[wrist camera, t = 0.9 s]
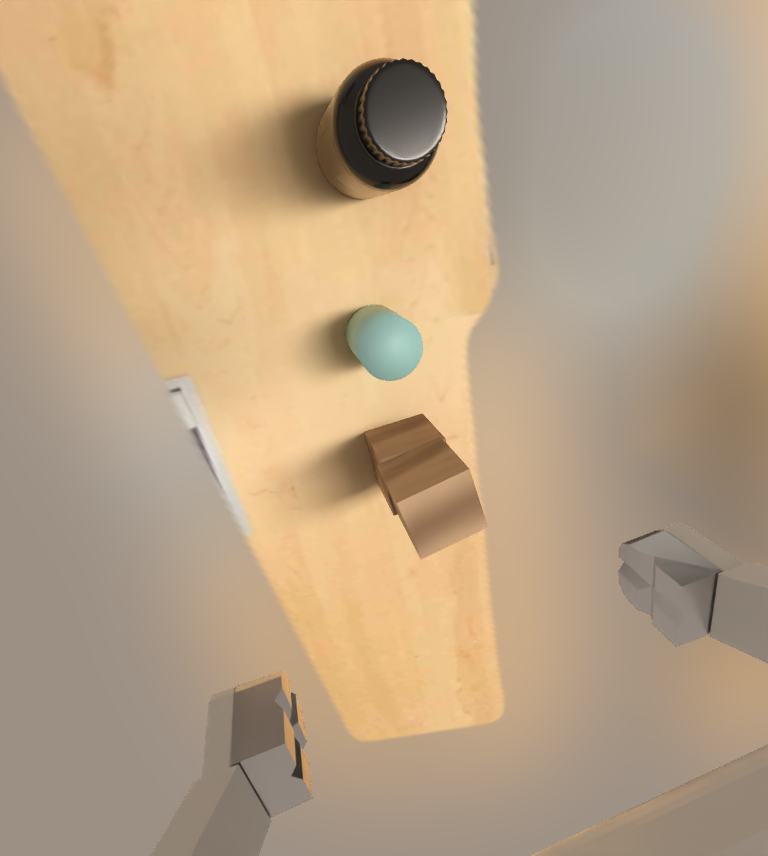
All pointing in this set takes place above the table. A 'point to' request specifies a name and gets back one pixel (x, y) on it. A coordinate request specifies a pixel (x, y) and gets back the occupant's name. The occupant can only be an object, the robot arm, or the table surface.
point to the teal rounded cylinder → (384, 342)
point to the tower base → (398, 444)
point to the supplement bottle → (381, 128)
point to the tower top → (433, 496)
